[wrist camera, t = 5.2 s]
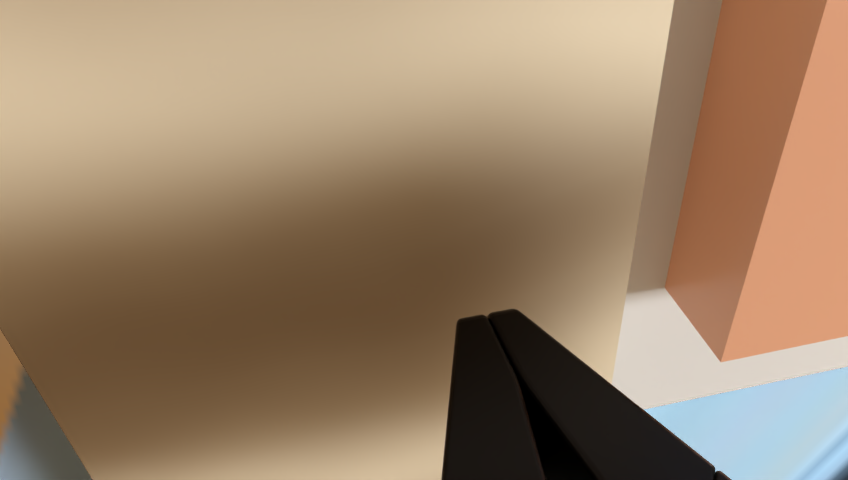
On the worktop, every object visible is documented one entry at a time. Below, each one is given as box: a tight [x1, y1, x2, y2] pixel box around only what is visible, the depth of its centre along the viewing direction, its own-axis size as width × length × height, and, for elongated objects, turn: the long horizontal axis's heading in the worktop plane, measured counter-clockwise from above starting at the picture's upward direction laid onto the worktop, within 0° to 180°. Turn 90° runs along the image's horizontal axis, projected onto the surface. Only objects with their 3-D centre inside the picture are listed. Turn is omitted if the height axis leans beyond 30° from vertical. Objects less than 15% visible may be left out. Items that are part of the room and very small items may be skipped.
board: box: [0, 0, 674, 480], centre depth 12 cm, size 16×9×4 cm, turn 3°
